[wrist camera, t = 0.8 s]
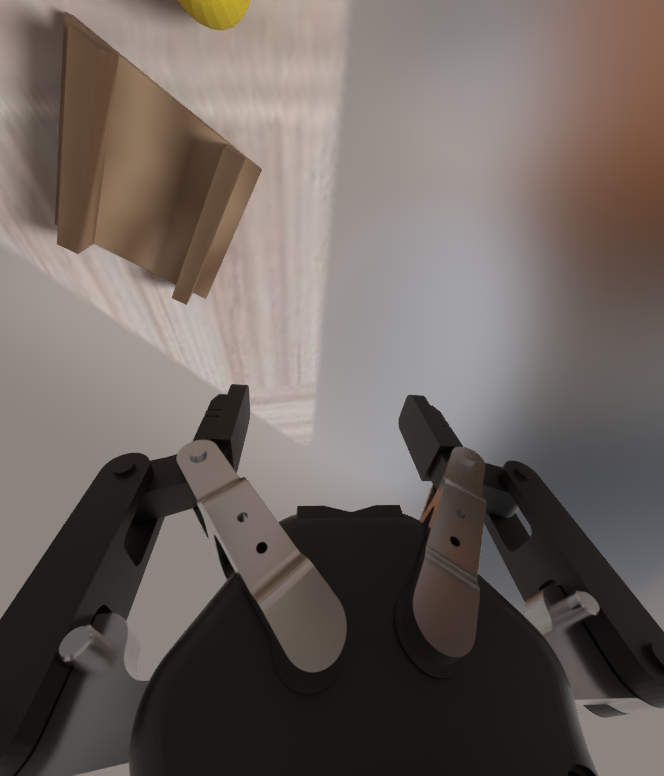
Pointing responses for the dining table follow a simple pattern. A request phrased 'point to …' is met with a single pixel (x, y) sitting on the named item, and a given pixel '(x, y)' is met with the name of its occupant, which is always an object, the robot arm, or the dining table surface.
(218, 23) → the lemon
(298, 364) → the dining table surface
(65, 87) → the cradle
